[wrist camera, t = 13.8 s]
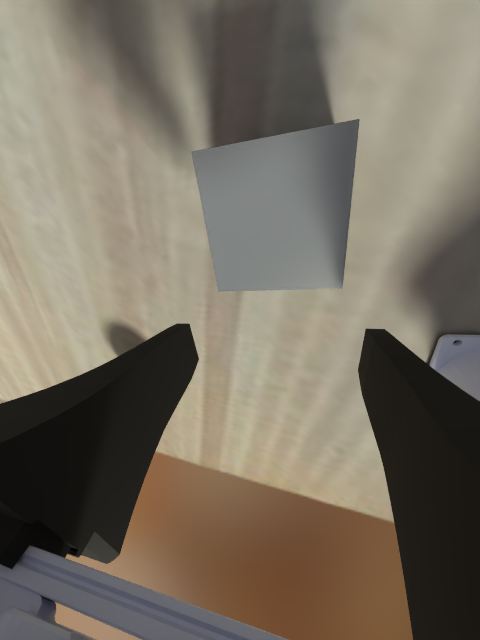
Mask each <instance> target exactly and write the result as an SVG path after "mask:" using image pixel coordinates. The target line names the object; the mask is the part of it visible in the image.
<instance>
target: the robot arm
mask: <svg viewBox="0 0 480 640" xmlns="http://www.w3.org/2000/svg"><path fill="white" fill-rule="evenodd" d="M456 340H458V341H457V342H455V343H453V342H454V341H456ZM198 360H199V358H198V354H197V350H196V347H195V343H194V339H193V335H192V332H191V328H190V324H175V325H173V326H171V327H169V328H167V329H166V330H164V331H162V332H160V333H159V334H157V335H155V336H154V337H152V338H150V339H148V340H147V341H145V342H143V343H142V344H140V345H138V346H137V347H135V348H133V349H131V350H129V351H128V352H126V353H124V354H122V355H120V356H118V357H117V358H115V359H113V360H111V361H109V362H107V363H105V364H103V365H101V366H99V367H97V368H95V369H93V370H90V371H88V372H86V373H84V374H82V375H79V376H77V377H74V378H72V379H69V380H67V381H64V382H62V383H59V384H57V385H54V386H52V387H49V388H47V389H44V390H41V391H38V392H35V393H32V394H30V395H26V396H23V397H20V398H17V399H14V400H11V401H8V402H5V403H1V404H0V640H96V639H94V638H92V637H89V636H87V635H85V634H82V633H80V632H78V631H75V630H72V629H70V628H68V627H65V626H63V625H60V624H57V623H56V621H55V613H56V604H55V602H57V603H59V604H61V605H64V606H66V607H69V608H71V609H73V610H75V611H77V612H80V613H82V614H84V615H87V616H89V617H92V618H94V619H96V620H98V621H101V622H103V623H105V624H107V625H110V626H112V627H114V628H117V629H119V630H121V631H124V632H126V633H128V634H131V635H133V636H135V637H138V638H140V639H142V640H288V639H285V638H283V637H280V636H277V635H274V634H272V633H269V632H266V631H263V630H261V629H258V628H255V627H252V626H250V625H246V624H244V623H241V622H239V621H236V620H233V619H230V618H228V617H225V616H222V615H220V614H217V613H214V612H211V611H209V610H206V609H203V608H200V607H197V606H195V605H192V604H189V603H187V602H184V601H181V600H178V599H176V598H173V597H170V596H167V595H165V594H162V593H159V592H156V591H154V590H151V589H148V588H145V587H143V586H140V585H137V584H134V583H131V582H129V581H126V580H124V579H120V578H118V577H115V576H112V575H110V574H107V573H104V572H102V571H99V570H96V569H93V568H91V567H88V566H85V565H82V564H80V563H77V562H74V561H71V560H69V559H66V558H65V557H66V555H67V554H69V555H72V556H75V557H79V556H80V555H83V556H86V557H89V558H92V559H94V560H98V561H100V562H103V563H106V564H107V563H110V562H111V561H113V560H114V559H115V558H116V557H118V556H119V554H120V551H121V548H122V545H123V541H124V538H125V535H126V532H127V528H128V525H129V522H130V519H131V516H132V513H133V510H134V507H135V504H136V501H137V498H138V495H139V492H140V490H141V487H142V484H143V481H144V478H145V476H146V473H147V471H148V468H149V466H150V463H151V460H152V458H153V455H154V453H155V450H156V448H157V446H158V443H159V441H160V439H161V436H162V434H163V431H164V429H165V427H166V425H167V423H168V421H169V420H170V418H171V416H172V414H173V412H174V410H175V408H176V407H177V405H178V403H179V401H180V399H181V397H182V396H183V394H184V392H185V390H186V388H187V386H188V384H189V383H190V381H191V379H192V376H193V374H194V371H195V368H196V366H197V363H198ZM358 372H359V379H360V385H361V391H362V396H363V399H364V402H365V406H366V409H367V412H368V416H369V419H370V422H371V425H372V429H373V432H374V435H375V438H376V442H377V445H378V448H379V451H380V455H381V459H382V463H383V466H384V471H385V476H386V481H387V486H388V491H389V496H390V501H391V506H392V512H393V517H394V522H395V528H396V533H397V539H398V545H399V551H400V557H401V562H402V569H403V575H404V580H405V587H406V594H407V600H408V606H409V614H410V620H411V627H412V634H413V640H480V335H454V334H448V335H444V336H442V337H440V338H439V340H438V343H437V345H436V348H435V351H434V354H433V356H432V359H431V362H430V364H429V365H428V364H427V363H425V362H424V361H423V360H422V359H420V358H419V357H418V356H417V355H415V354H414V353H413V352H412V351H410V350H409V349H408V348H407V347H406V346H404V345H403V344H402V343H401V342H400V341H398V340H397V339H396V338H395V337H394V336H392V335H391V334H390V333H389V332H387V331H386V330H385V329H366V331H365V336H364V341H363V347H362V352H361V357H360V363H359V368H358Z"/></svg>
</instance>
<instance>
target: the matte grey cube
mask: <svg viewBox="0 0 480 640" xmlns="http://www.w3.org/2000/svg"><path fill="white" fill-rule="evenodd" d="M358 128H359V119H357V120H352V121H347V122H341V123H336V124H331V125H326V126H321V127H316V128H311V129H306V130H300V131H295V132H290V133H285V134H280V135H275V136H270V137H265V138H259V139H254V140H249V141H244V142H239V143H234V144H229V145H224V146H218V147H213V148H208V149H203V150H198V151H193V152H192V157H193V162H194V167H195V172H196V177H197V183H198V188H199V193H200V198H201V203H202V209H203V214H204V219H205V224H206V229H207V235H208V240H209V245H210V250H211V256H212V261H213V266H214V271H215V276H216V282H217V287H218V291H258V290H299V289H341V288H342V287H343V277H344V267H345V258H346V248H347V238H348V228H349V218H350V208H351V198H352V188H353V178H354V168H355V158H356V148H357V138H358Z"/></svg>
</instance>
